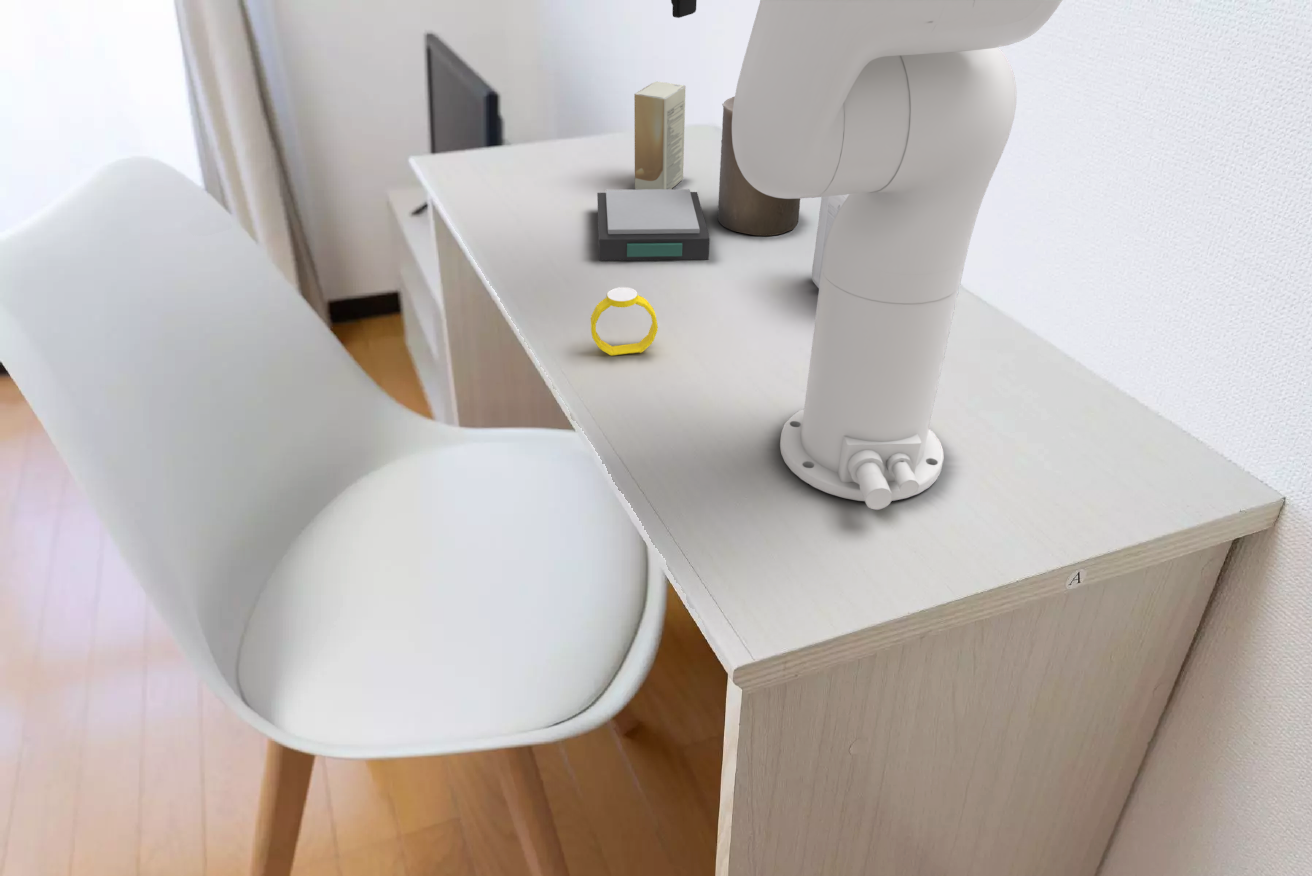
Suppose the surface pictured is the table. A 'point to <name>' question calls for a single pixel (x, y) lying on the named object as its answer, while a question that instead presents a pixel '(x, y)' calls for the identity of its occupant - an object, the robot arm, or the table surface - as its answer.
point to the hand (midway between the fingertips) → (729, 22)
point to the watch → (623, 299)
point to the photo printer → (825, 230)
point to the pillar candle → (748, 194)
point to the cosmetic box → (659, 135)
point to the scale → (651, 225)
